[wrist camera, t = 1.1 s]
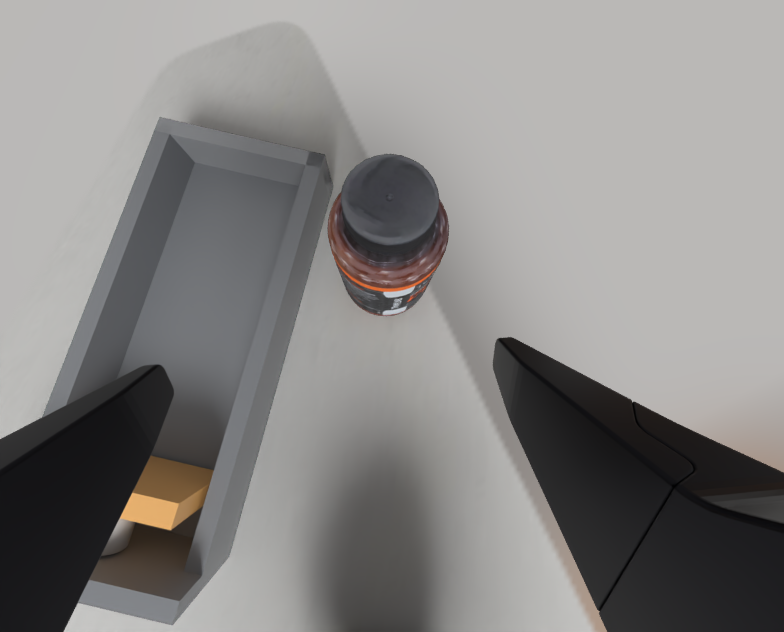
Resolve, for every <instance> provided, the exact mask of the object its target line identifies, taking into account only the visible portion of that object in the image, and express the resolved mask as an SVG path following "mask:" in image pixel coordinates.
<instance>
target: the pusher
mask: <svg viewBox="0 0 784 632" xmlns="http://www.w3.org/2000/svg"><path fill="white" fill-rule="evenodd" d="M213 472H214V470H210V469H206V468H201V467H197V466H193V465H189V464H184V463H180V462H176V461H172V460H167V459H163V458H159V457H155V456H150V458H149V460H148V462H147V464H146V466H145V468H144V470H143V472H142V474H141V476H140V478H139V481H138V483H137V485H136V487H135V489H134V491H133V493H132V495H131V497H130V499H129V501H128V503H127V505H126V507H125V509H124V511H123V513H122V515H121V517H120V519H119V521H118V523H117V525H116V527H115V529H114V531H113V533H112V535H111V537H110V539H109V541H108V543H107V545H106V547H105V549H104V551H103V553H102V555H101V556H105V555H111V554H115V553H118V552H120V551H122V550H123V549H125V548H126V547H127V546H128V544H129V541H130V538H131V535H132V532H133V529H134V526H135V522H137V523H142V524H146V525H150V526H154V527H158V528H163V529H167V530H172V529H173V528H174V527H176V526H177V525H178V524H180V523H181V522H182V521H184V520H185V519H186V518H188V517H189V516H190V515H192V514H193V513H194V512H196V511H197V510H198V509H200V508H201V507H202V506H203V505H204V502H205V499H206V495H207V492H208V489H209V485H210V482H211V479H212V475H213Z"/></svg>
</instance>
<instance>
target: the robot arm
mask: <svg viewBox="0 0 784 632" xmlns="http://www.w3.org/2000/svg"><path fill="white" fill-rule="evenodd" d="M493 370H494V373H495V376H496V379H497V382H498V385H499V389H500V392H501V395H502V398H503V401H504V404H505V407H506V410H507V413H508V416H509V418H510V421H511V423H512V425H513V428H514V430H515V432H516V434H517V436H518V439H519V441H520V443H521V445H522V447H523V449H524V451H525V454H526V456H527V458H528V460H529V462H530V464H531V467H532V469H533V471H534V473H535V475H536V478H537V480H538V482H539V484H540V486H541V488H542V490H543V493H544V495H545V497H546V499H547V501H548V504H549V506H550V508H551V510H552V512H553V514H554V517H555V519H556V521H557V523H558V525H559V527H560V530H561V532H562V534H563V536H564V538H565V540H566V543H567V545H568V547H569V549H570V551H571V553H572V556H573V558H574V560H575V562H576V564H577V566H578V569H579V571H580V573H581V575H582V577H583V579H584V582H585V584H586V586H587V588H588V590H589V593H590V595H591V597H592V599H593V601H594V603H595V606H596V608H597V610H599V611H600V612H599V615H600V617H601V619H602V621H603V623H604V626H605V628H606V630H607V632H784V473H783V472H781V471H779V470H777V469H775V468H772V467H770V466H768V465H766V464H764V463H762V462H759V461H757V460H755V459H753V458H751V457H749V456H746V455H744V454H742V453H740V452H738V451H735V450H733V449H731V448H729V447H727V446H725V445H722V444H720V443H718V442H716V441H714V440H711V439H709V438H707V437H705V436H703V435H701V434H699V433H696V432H694V431H692V430H690V429H688V428H686V427H684V426H681V425H679V424H677V423H675V422H673V421H671V420H669V419H667V418H665V417H663V416H661V415H659V414H658V413H656V412H654V411H651V410H650V409H648V408H646V407H644V406H642V405H640V404H638V403H636V402H633V403H632V400H631V399H628V398H627V397H625V396H623V395H621V394H619V393H617V392H615V391H613V390H612V389H610V388H608V387H605V386H604V385H602V384H600V383H598V382H596V381H594V380H592V379H591V378H589V377H587V376H585V375H583V374H581V373H579V372H577V371H575V370H573V369H571V368H570V367H568V366H566V365H564V364H562V363H560V362H558V361H556V360H554V359H553V358H551V357H549V356H547V355H545V354H543V353H541V352H539V351H537V350H535V349H533V348H532V347H530V346H528V345H526V344H524V343H522V342H520V341H518V340H516V339H514V338H512V337H508V338H499V339H497V341H496V343H495V350H494V358H493ZM173 397H174V388H173V385H172V383H171V381H170V379H169V377H168V375H167V373H166V371H165V369H164V367H163V366H162V365H159V364H154V365H144V366H141V367H139V368H137V369H135V370H133V371H131V372H129V373H127V374H125V375H123V376H122V377H120V378H118V379H116V380H114V381H112V382H110V383H108V384H106V385H104V386H102V387H100V388H98V389H96V390H94V391H93V392H91V393H89V394H87V395H85V396H83V397H81V398H79V399H77V400H75V401H73V402H71V403H69V404H67V405H66V406H64V407H62V408H60V409H58V410H56V411H54V412H52V413H50V414H48V415H46V416H44V417H42V418H40V419H39V420H37V421H35V422H33V423H31V424H29V425H27V426H25V427H23V428H21V429H19V430H17V431H15V432H13V433H11V434H10V435H8V436H6V437H4V438H2V439H0V632H64V630H65V628H66V626H67V624H68V621H69V619H70V617H71V615H72V613H73V611H74V609H75V607H76V605H77V603H78V601H79V599H80V597H81V595H82V593H83V591H84V589H85V587H86V585H87V583H88V581H89V579H90V577H91V575H92V573H93V571H94V569H95V567H96V565H97V563H98V561H99V559H100V557H101V555H102V553H103V551H104V549H105V547H106V545H107V543H108V541H109V539H110V537H111V535H112V533H113V531H114V529H115V527H116V525H117V523H118V521H119V519H120V517H121V515H122V513H123V511H124V509H125V507H126V505H127V503H128V501H129V499H130V497H131V495H132V493H133V491H134V489H135V487H136V485H137V483H138V481H139V478H140V476H141V474H142V472H143V470H144V468H145V466H146V464H147V462H148V460H149V458H150V456H151V454H152V452H153V450H154V447H155V445H156V442H157V440H158V437H159V435H160V432H161V429H162V427H163V424H164V421H165V419H166V416H167V413H168V411H169V408H170V405H171V402H172V400H173Z"/></svg>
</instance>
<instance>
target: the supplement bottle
mask: <svg viewBox="0 0 784 632" xmlns="http://www.w3.org/2000/svg"><path fill="white" fill-rule="evenodd" d="M448 236H449V225H448V218H447V214H446V211H445V209H444V206H443V204H442V203H441V202H440V199H439V194H438V189H437V187H436V184H435V182H434V179H433V177H432V176H431V175H430V174H429V172H428V171H427V170H426V169H425V168H424V167H423V166H422V165H420V164H419V163H417V162H416V161H414V160H412V159H410V158H407V157H404V156H402V155H394V154H384V155H378V156H374V157H371V158H368V159H366V160H364V161H363V162H361V163H360V164H358V165H357V166H356V167H355V168H354V169H353V170H352V171H351V172H350V173H349V175H348V176H347V178H346V180H345V182H344V184H343V188H342V192H341V193H340V194H339V195H338V197H337V198H336V200H335V202H334V204H333V206H332V208H331V211H330V215H329V219H328V238H329V243H330V246H331V250H332V253H333V256H334V259H335V262H336V265H337V267H338V269H339V272H340V274H341V277H342V280H343V282H344V285H345V287H346V290H347V292H348V294H349V295H350V297H351V298H352V300H353V301H354V302H355V303H356V304H357V305H358V306H359V307H360V308H362V309H363V310H365V311H367V312H369V313H371V314H375V315H379V316H392V315H397V314H400V313H403V312H404V311H406V310H408V309H409V308H411V307H412V306H413V305H414V304H415V303H416V302H417V301H418V300H419V299H420V298H421V296H422V295H423V293H424V292H425V290H426V288H427V286H428V284H429V282H430V280H431V278H432V276H433V274H434V272H435V271H436V269H437V267H438V266H439V264H440V261H441V259H442V257H443V255H444V252H445V250H446V246H447V243H448Z"/></svg>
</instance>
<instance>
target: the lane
mask: <svg viewBox="0 0 784 632" xmlns="http://www.w3.org/2000/svg"><path fill="white" fill-rule="evenodd" d="M332 188H333V185H332V181H331V177H330V173H329V169H328V165H327V162H326V158H325V155H324V154H320V153H315V152H311V151H307V150H302V149H298V148H293V147H289V146H285V145H280V144H276V143H271V142H267V141H263V140H258V139H254V138H250V137H245V136H241V135H236V134H232V133H228V132H223V131H219V130H214V129H210V128H206V127H201V126H197V125H192V124H188V123H184V122H179V121H175V120H171V119H166V118H162V117H160V118H159V120H158V123H157V125H156V128H155V130H154V133H153V135H152V138H151V141H150V143H149V146H148V148H147V151H146V153H145V156H144V158H143V161H142V164H141V166H140V169H139V171H138V174H137V176H136V179H135V181H134V184H133V187H132V189H131V192H130V194H129V197H128V199H127V202H126V204H125V207H124V210H123V212H122V215H121V217H120V220H119V222H118V225H117V227H116V230H115V233H114V235H113V238H112V240H111V243H110V245H109V248H108V250H107V253H106V256H105V258H104V261H103V263H102V266H101V268H100V271H99V273H98V276H97V279H96V281H95V284H94V286H93V289H92V291H91V294H90V296H89V299H88V302H87V304H86V307H85V309H84V312H83V314H82V317H81V319H80V322H79V325H78V327H77V330H76V332H75V335H74V337H73V340H72V342H71V345H70V348H69V350H68V353H67V355H66V358H65V360H64V363H63V365H62V368H61V371H60V373H59V376H58V378H57V381H56V383H55V386H54V388H53V391H52V394H51V396H50V399H49V401H48V404H47V406H46V409H45V411H44V414H43V417H44V416H46V415H48V414H50V413H52V412H54V411H56V410H58V409H60V408H62V407H64V406H66V405H67V404H69V403H71V402H73V401H75V400H77V399H79V398H81V397H83V396H85V395H87V394H89V393H91V392H93V391H94V390H96V389H98V388H100V387H102V386H104V385H106V384H108V383H110V382H112V381H114V380H116V379H118V378H120V377H122V376H123V375H125V374H127V373H129V372H131V371H133V370H135V369H137V368H139V367H141V366H144V365H154V364H159V365H162V366H163V367H164V369H165V371H166V373H167V375H168V377H169V379H170V381H171V383H172V385H173V388H174V397H173V400H172V402H171V405H170V408H169V411H168V413H167V416H166V419H165V421H164V424H163V427H162V429H161V432H160V435H159V437H158V440H157V442H156V445H155V447H154V450H153V452H152V454H151V456H155V457H159V458H163V459H167V460H172V461H176V462H180V463H184V464H189V465H193V466H197V467H201V468H206V469H210V470H214V472H213V475H212V479H211V482H210V485H209V489H208V492H207V495H206V499H205V502H204V505H203V506H202V507H201V508H200V509H198V510H197V511H196V512H194V513H193V514H192V515H190V516H189V517H188V518H186V519H185V520H184V521H182V522H181V523H180V524H178V525H177V526H176V527H174V528H173V529H172V530H167V529H163V528H158V527H154V526H150V525H146V524H142V523H137V522H135V526H134V529H133V532H132V535H131V538H130V541H129V544H128V546H127V547H126V548H125V549H123V550H122V551H120V552H118V553H115V554H111V555H105V556H101V557H100V559H99V561H98V563H97V565H96V567H95V569H94V571H93V573H92V575H91V577H90V579H89V581H88V583H87V585H86V587H85V589H84V591H83V593H82V595H81V597H80V599H79V601H78V603H81V604H85V605H89V606H94V607H98V608H102V609H106V610H110V611H115V612H119V613H123V614H127V615H131V616H136V617H140V618H144V619H148V620H152V621H157V622H161V623H165V624H169V625H173V624H174V623H175V622H176V620H177V619H178V618H179V617H180V616H181V614H182V613H183V612H184V611H185V610H186V608H187V607H188V606H189V605H190V603H191V602H192V601H193V600H194V599H195V597H196V596H197V595H198V594H199V593H200V591H201V590H202V589H203V588H204V587H205V585H206V584H207V583H208V582H209V580H210V579H211V578H212V577H213V576H214V574H215V573H216V572H217V571H218V570H219V568H220V567H221V566H222V565H223V563H224V562H225V561H226V560H227V559H228V557H229V555H230V551H231V548H232V544H233V541H234V537H235V534H236V530H237V526H238V523H239V519H240V516H241V512H242V509H243V505H244V502H245V498H246V494H247V491H248V487H249V484H250V480H251V477H252V473H253V470H254V466H255V462H256V459H257V455H258V452H259V448H260V445H261V441H262V438H263V434H264V430H265V427H266V423H267V420H268V416H269V413H270V409H271V405H272V402H273V398H274V395H275V391H276V388H277V384H278V381H279V377H280V373H281V370H282V366H283V363H284V359H285V356H286V352H287V349H288V345H289V341H290V338H291V334H292V331H293V327H294V324H295V320H296V317H297V313H298V309H299V306H300V302H301V299H302V295H303V292H304V288H305V285H306V281H307V277H308V274H309V270H310V267H311V263H312V260H313V256H314V252H315V249H316V245H317V242H318V238H319V235H320V231H321V228H322V224H323V220H324V217H325V213H326V210H327V206H328V203H329V199H330V196H331V192H332Z"/></svg>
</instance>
